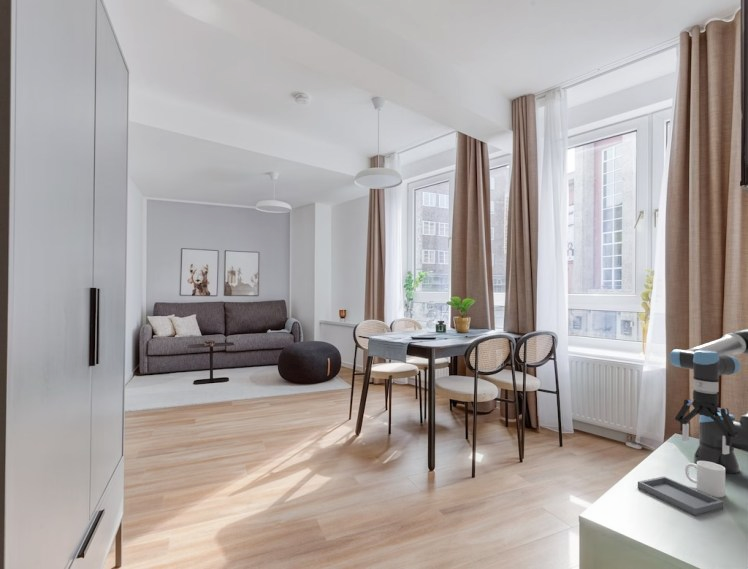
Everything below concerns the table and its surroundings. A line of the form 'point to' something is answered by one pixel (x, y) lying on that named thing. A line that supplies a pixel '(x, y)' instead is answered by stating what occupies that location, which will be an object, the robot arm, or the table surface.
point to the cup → (708, 478)
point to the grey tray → (681, 496)
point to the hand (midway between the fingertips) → (704, 446)
